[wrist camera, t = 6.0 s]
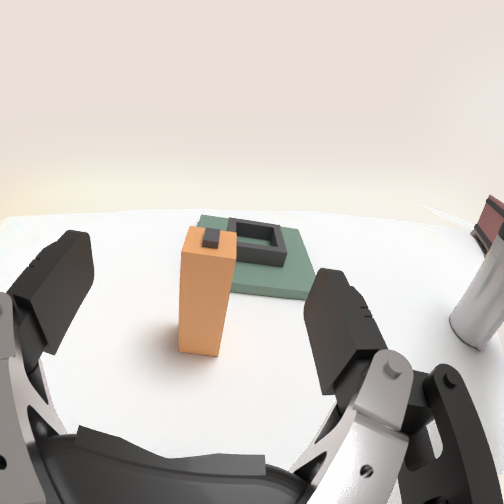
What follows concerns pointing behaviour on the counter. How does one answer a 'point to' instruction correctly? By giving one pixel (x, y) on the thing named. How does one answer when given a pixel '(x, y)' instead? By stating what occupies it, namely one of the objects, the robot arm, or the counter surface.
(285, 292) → the board
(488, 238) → the reddish brown chest
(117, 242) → the counter surface
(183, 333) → the plug
